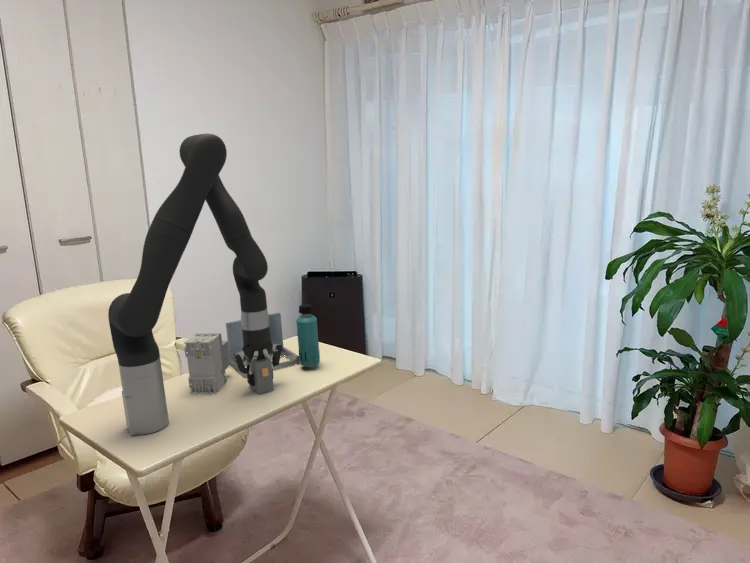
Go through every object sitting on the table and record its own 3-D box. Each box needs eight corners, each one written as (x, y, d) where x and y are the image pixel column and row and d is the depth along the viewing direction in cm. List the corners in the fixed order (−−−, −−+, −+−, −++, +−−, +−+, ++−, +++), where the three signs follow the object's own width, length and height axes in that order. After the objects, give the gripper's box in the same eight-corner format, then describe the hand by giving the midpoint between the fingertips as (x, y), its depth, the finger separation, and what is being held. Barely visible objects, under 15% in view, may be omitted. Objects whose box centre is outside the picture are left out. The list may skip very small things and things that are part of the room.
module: (259, 395, 148) (256, 364, 147) (249, 386, 155) (246, 356, 153) (274, 391, 151) (272, 360, 149) (264, 382, 157) (261, 353, 155)
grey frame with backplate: (245, 377, 162) (240, 333, 159) (230, 365, 173) (225, 323, 170) (299, 363, 171) (296, 321, 168) (282, 352, 182) (279, 312, 179)
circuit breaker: (233, 373, 165) (228, 326, 162) (215, 393, 151) (209, 342, 148) (210, 374, 166) (204, 327, 163) (190, 393, 152) (183, 342, 149)
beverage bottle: (323, 363, 170) (318, 302, 166) (317, 371, 164) (313, 307, 160) (302, 363, 171) (298, 302, 167) (296, 371, 165) (291, 308, 161)
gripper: (235, 333, 142) (241, 394, 146) (285, 323, 150) (289, 381, 154) (225, 327, 149) (232, 385, 152) (274, 317, 156) (279, 373, 160)
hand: (261, 382), depth 153 cm, fingers closed on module, 4 cm apart
